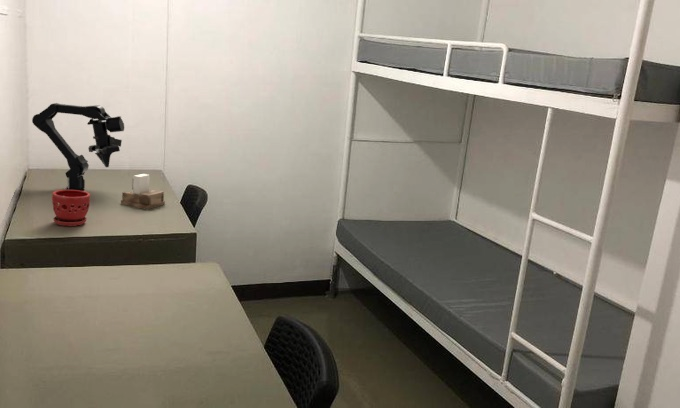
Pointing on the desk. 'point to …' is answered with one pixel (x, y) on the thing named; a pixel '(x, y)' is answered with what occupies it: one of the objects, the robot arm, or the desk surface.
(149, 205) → the housing
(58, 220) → the plant pot
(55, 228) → the desk surface
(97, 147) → the robot arm
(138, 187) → the white rectangular block
